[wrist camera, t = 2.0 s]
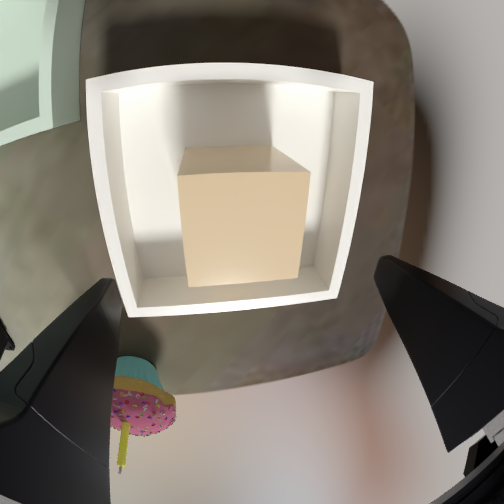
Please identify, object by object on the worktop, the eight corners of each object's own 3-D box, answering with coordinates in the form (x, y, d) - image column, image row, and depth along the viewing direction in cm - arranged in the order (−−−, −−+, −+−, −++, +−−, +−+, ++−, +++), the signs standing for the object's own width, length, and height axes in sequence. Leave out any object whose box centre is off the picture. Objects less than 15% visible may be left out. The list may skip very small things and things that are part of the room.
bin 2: (136, 283, 19) (128, 317, 16) (109, 82, 12) (85, 79, 9) (318, 268, 21) (336, 298, 18) (341, 82, 14) (373, 82, 11)
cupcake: (82, 345, 21) (59, 458, 11) (161, 338, 22) (160, 469, 12) (117, 391, 26) (112, 484, 16) (185, 387, 27) (194, 487, 17)
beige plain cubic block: (189, 227, 17) (188, 287, 12) (185, 148, 14) (177, 175, 9) (268, 222, 18) (297, 277, 13) (272, 145, 15) (310, 172, 10)
